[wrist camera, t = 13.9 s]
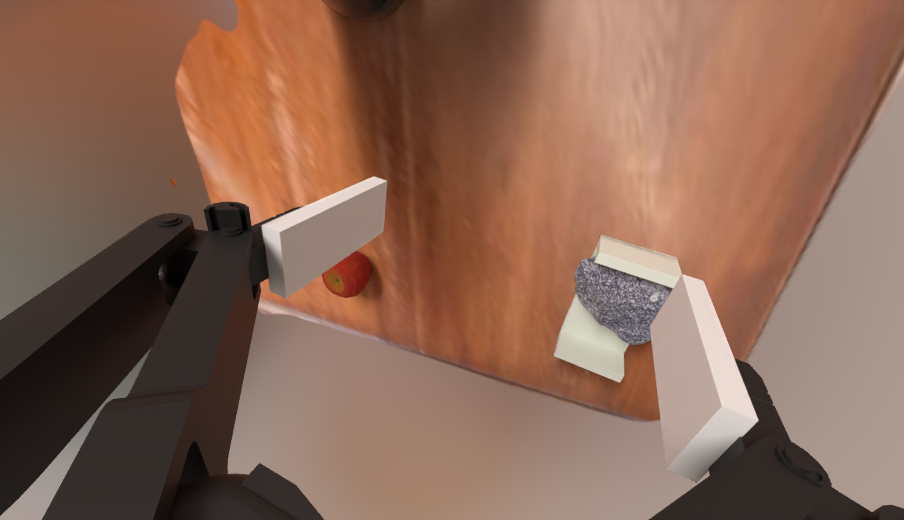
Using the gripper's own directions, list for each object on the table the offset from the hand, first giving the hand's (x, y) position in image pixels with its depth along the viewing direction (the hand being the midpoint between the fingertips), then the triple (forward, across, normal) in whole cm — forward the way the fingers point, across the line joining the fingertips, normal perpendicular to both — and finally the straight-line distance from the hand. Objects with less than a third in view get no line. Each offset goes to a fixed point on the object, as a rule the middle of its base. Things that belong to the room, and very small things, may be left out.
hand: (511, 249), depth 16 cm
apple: (+32, -29, -29) cm, 52 cm away
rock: (+31, +11, -17) cm, 37 cm away
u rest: (+32, +11, -19) cm, 39 cm away
